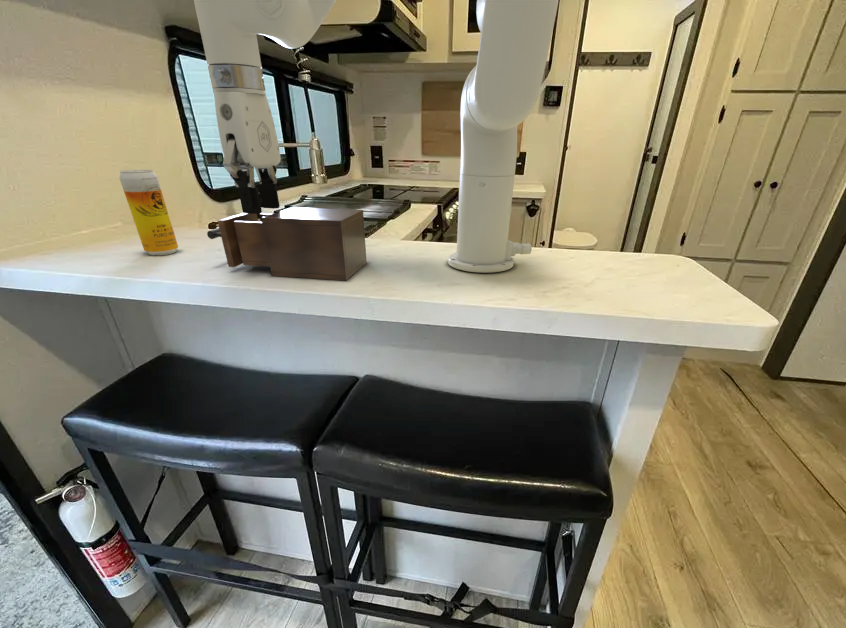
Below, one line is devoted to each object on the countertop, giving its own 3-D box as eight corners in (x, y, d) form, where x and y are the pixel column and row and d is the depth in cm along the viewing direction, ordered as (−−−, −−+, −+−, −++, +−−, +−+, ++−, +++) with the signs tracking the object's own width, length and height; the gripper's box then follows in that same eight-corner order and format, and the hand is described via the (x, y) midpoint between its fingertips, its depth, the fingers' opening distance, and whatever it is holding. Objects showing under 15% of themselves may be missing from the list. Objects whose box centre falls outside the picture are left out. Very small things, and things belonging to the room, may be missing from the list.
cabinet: (271, 275, 72) (260, 217, 67) (300, 259, 82) (292, 206, 77) (346, 280, 70) (340, 220, 65) (366, 263, 80) (363, 209, 75)
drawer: (206, 265, 74) (194, 219, 70) (239, 251, 82) (230, 210, 78) (294, 271, 71) (287, 223, 67) (318, 256, 80) (313, 213, 76)
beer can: (164, 257, 82) (137, 172, 74) (138, 255, 83) (108, 171, 75) (186, 249, 87) (162, 169, 79) (161, 248, 88) (135, 169, 80)
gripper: (228, 76, 55) (256, 219, 64) (287, 88, 70) (303, 204, 79) (177, 76, 56) (212, 217, 65) (246, 88, 71) (266, 203, 80)
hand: (262, 209), depth 72 cm, fingers open, 5 cm apart
